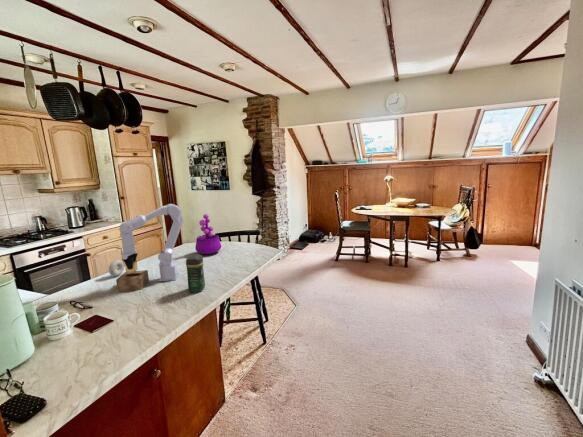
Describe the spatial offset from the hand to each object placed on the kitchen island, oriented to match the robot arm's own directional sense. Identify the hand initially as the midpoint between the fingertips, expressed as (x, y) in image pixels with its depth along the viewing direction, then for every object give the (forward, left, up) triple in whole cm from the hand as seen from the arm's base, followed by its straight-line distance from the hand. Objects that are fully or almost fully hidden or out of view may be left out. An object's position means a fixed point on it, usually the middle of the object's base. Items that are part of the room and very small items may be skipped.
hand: (131, 268), depth 159 cm
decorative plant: (-34, -55, -11) cm, 66 cm away
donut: (+16, -19, -11) cm, 27 cm away
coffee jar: (-36, +13, -11) cm, 40 cm away
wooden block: (0, 0, -1) cm, 1 cm away
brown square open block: (0, 0, -10) cm, 10 cm away
